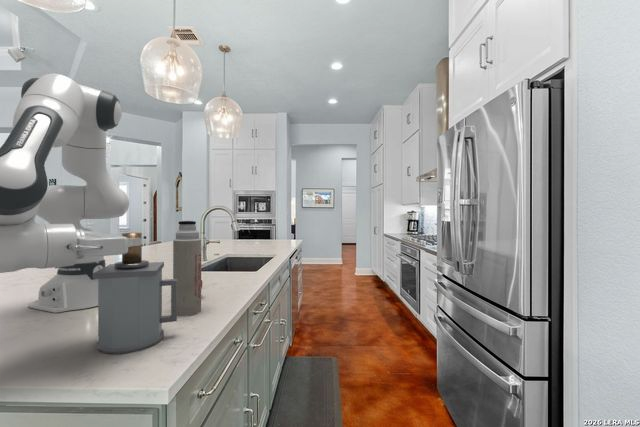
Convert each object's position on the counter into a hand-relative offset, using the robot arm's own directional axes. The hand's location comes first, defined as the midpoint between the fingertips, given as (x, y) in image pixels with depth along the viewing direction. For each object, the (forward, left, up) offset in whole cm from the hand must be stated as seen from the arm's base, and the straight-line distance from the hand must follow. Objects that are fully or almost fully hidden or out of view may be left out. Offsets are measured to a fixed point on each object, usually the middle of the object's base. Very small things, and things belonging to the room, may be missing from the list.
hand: (136, 240), depth 75 cm
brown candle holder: (0, -1, -17) cm, 17 cm away
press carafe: (+1, 0, -24) cm, 24 cm away
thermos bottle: (0, +21, -24) cm, 32 cm away
